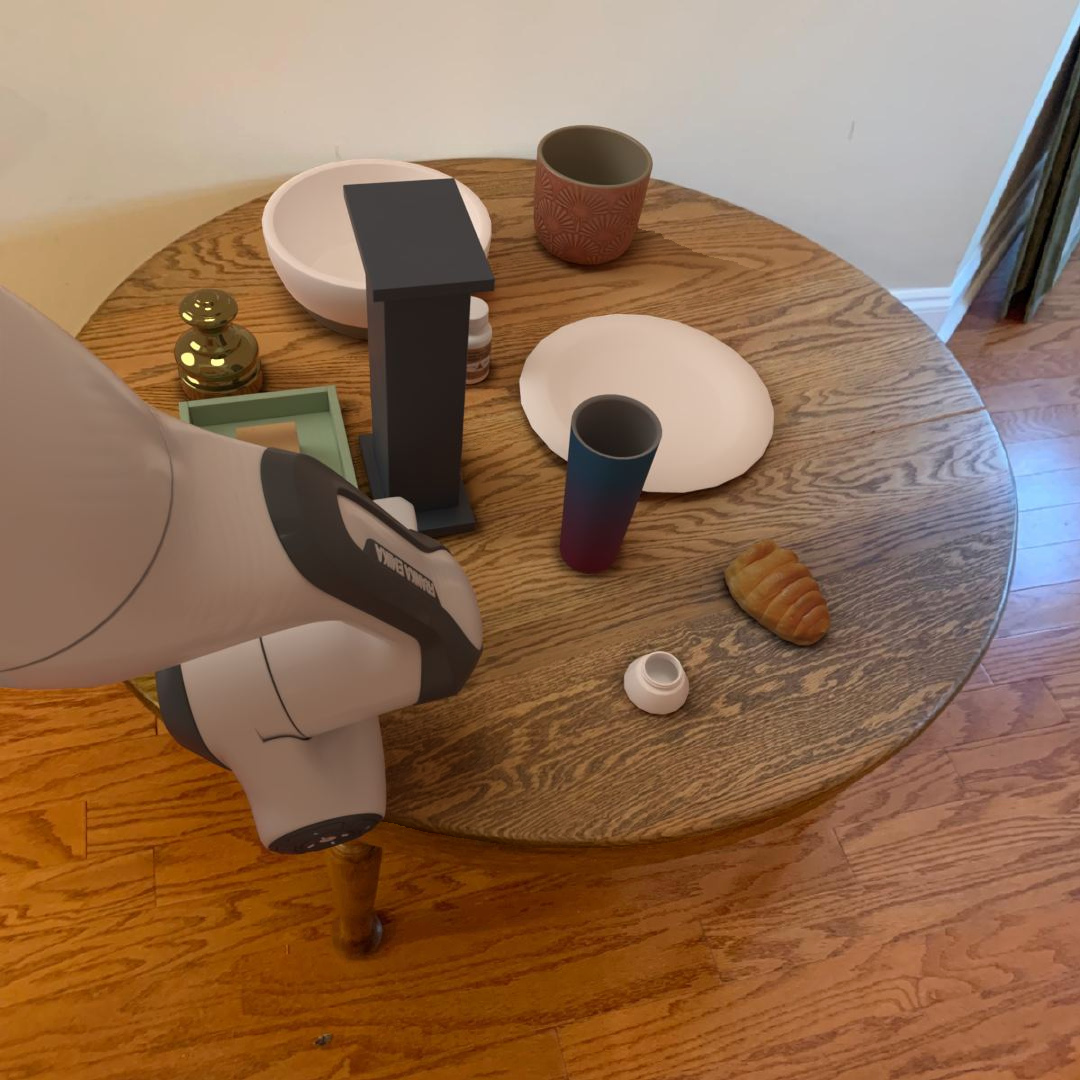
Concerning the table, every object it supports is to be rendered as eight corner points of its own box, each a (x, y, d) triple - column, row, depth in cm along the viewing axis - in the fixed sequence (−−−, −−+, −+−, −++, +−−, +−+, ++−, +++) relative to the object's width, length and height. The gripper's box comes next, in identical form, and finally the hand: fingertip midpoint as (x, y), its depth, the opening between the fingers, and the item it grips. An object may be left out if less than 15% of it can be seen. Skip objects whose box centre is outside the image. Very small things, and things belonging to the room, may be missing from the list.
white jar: (688, 719, 74) (684, 663, 77) (697, 700, 72) (693, 643, 75) (623, 713, 74) (622, 657, 77) (630, 694, 72) (629, 637, 75)
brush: (322, 588, 77) (319, 565, 75) (257, 598, 76) (252, 575, 74) (298, 445, 87) (295, 421, 84) (240, 452, 86) (235, 427, 83)
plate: (743, 538, 86) (748, 525, 85) (479, 452, 89) (480, 439, 88) (789, 366, 102) (794, 354, 100) (563, 299, 105) (565, 286, 103)
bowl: (348, 203, 112) (344, 134, 105) (523, 271, 107) (530, 203, 101) (225, 307, 98) (212, 236, 92) (419, 389, 94) (419, 320, 87)
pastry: (844, 627, 81) (860, 601, 78) (786, 664, 78) (801, 638, 75) (768, 550, 86) (780, 523, 83) (710, 582, 83) (721, 555, 80)
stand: (382, 545, 82) (372, 289, 61) (358, 443, 88) (342, 184, 68) (475, 531, 84) (495, 279, 63) (444, 432, 90) (454, 177, 70)
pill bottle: (462, 391, 94) (465, 328, 88) (435, 366, 96) (437, 302, 90) (498, 375, 96) (503, 312, 90) (471, 350, 98) (475, 287, 92)
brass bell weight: (242, 347, 95) (227, 261, 87) (277, 393, 91) (265, 307, 84) (169, 373, 92) (146, 285, 84) (203, 421, 88) (183, 334, 80)
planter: (580, 290, 106) (594, 200, 98) (505, 234, 111) (513, 144, 103) (656, 251, 112) (677, 164, 104) (582, 200, 117) (596, 113, 109)
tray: (202, 623, 75) (195, 599, 73) (184, 427, 88) (178, 401, 85) (378, 593, 78) (377, 570, 76) (337, 409, 91) (335, 384, 89)
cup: (640, 571, 83) (678, 448, 71) (567, 591, 81) (593, 467, 69) (607, 512, 86) (638, 386, 75) (536, 530, 84) (557, 403, 73)
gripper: (441, 575, 68) (403, 436, 76) (132, 625, 63) (126, 470, 71) (439, 625, 73) (404, 489, 81) (152, 675, 68) (144, 525, 76)
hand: (272, 481), depth 76 cm, fingers open, 4 cm apart
